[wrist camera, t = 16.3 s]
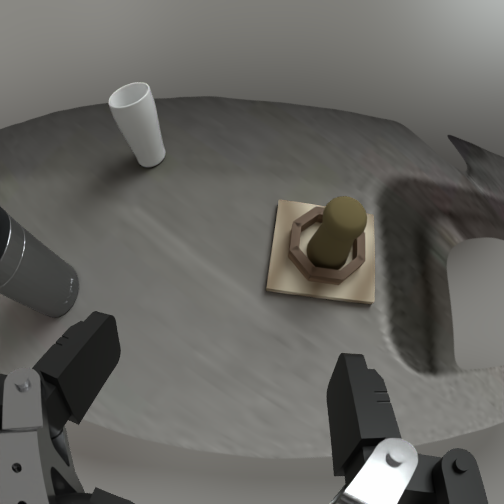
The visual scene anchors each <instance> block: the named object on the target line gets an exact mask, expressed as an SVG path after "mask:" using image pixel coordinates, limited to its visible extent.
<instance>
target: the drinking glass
mask: <svg viewBox="0 0 504 504" xmlns="http://www.w3.org/2000/svg"><path fill="white" fill-rule="evenodd" d="M108 104H109V107H110V110H111V112H112V115H113V117H114V120H115V122H116V124H117V126H118V127H119V129H120V131H121V132H122V134H123V136H124V138H125V139H126V141H127V143H128V144H129V146H130V148H131V149H132V151H133V153H134V155H135V156H136V158H137V161H138V163H139V164H140V165H141V166H143V167H153V166H156V165H158V164H159V163H160V162H161V161H162V160H163V159H164V157H165V148H164V145H163V141H162V136H161V131H160V126H159V121H158V116H157V110H156V106H155V102H154V98H153V96H152V93H151V90H150V87H149V85H148V84H146V83H142V82H135V83H131V84H128V85H125V86H123V87H121V88H119V89H118V90H116V91H115V92H114V93H113V94H112V95H111V97H110V98H109V101H108Z"/></svg>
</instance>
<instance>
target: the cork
mask: <svg viewBox="0 0 504 504" xmlns="http://www.w3.org/2000/svg"><path fill="white" fill-rule="evenodd" d="M322 219H323V223H322V224H321V225H320V227H319V228H318V229H317V231H316V232H315V234H314V235H313V236H312V238H311V239H310V241H309V243H308V244H307V250H306V251H307V256H308V258H309V260H310V261H311V262H312V264H313V265H314V266H315V267H319V268H326V269H333V270H339V269H341V268H342V267H343V266H344V265H345V263H346V261H347V258H348V256H349V253H350V250H351V247H352V245H353V242H354V239H356V238H358V237H359V236H360V235H361V234H362V233H363V232H364V230H365V228H366V225H367V215H366V211H365V209H364V208H363V206H362V204H360V203H359V202H358V201H357V200H355V199H353V198H351V197H347V196H343V197H337V198H334V199H332V200H331V201H330V202H329V203H328V204H327V205H326V207H325V209H324V211H323V218H322Z"/></svg>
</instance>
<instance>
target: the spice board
mask: <svg viewBox="0 0 504 504" xmlns="http://www.w3.org/2000/svg"><path fill="white" fill-rule="evenodd" d="M325 207H326V206H319V205H313V204H306V203H300V202H293V201H286V200H279V203H278V210H277V218H276V225H275V232H274V239H273V246H272V253H271V260H270V267H269V274H268V280H267V287H266V291H271V292H278V293H285V294H292V295H299V296H307V297H314V298H322V299H330V300H338V301H346V302H354V303H363V304H372V303H374V294H375V243H374V217H373V215H372V214H366V215H367V225H366V228H365V230H364V232H363V233H362V234H361V235H360V236H359V237H358V238H356V239H354V242H353V245H352V247H351V250H350V253H349V256H348V258H347V261H346V263H345V265H344V266H343V267H342V268H341V269H339V270H333V269H326V268H319V267H315V266H314V265H313V264H312V262H311V261H310V260H309V258H308V256H307V251H306V250H307V244H308V243H309V241H310V239H311V238H312V236H313V235H314V234H315V232H316V231H317V229H318V228H319V227H320V225H321V224H322V223H323V219H322V218H323V211H324V209H325Z"/></svg>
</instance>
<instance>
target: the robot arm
mask: <svg viewBox="0 0 504 504" xmlns="http://www.w3.org/2000/svg"><path fill="white" fill-rule="evenodd" d="M78 285H79V283H78V277H77V274H76V272H75V270H74V269H73V268H72V267H71V266H70V265H69V264H68V263H66V262H65V261H64V260H62V259H61V258H60V257H59V256H58V255H56V254H55V253H54V252H52V251H51V250H50V249H49V248H47V247H46V246H45V245H44V244H43V243H41V242H40V241H39V240H38V239H36V238H35V237H34V236H33V235H32V234H30V233H29V232H28V231H27V230H26V229H25V228H23V227H22V226H21V225H20V224H19V223H18V222H16V221H15V220H14V219H13V218H12V217H11V216H10V215H9V214H8V213H7V212H6V211H5V210H3V209H2V208H1V207H0V294H2V295H4V296H6V297H8V298H10V299H12V300H14V301H17V302H19V303H21V304H23V305H25V306H27V307H29V308H31V309H33V310H36V311H38V312H40V313H42V314H45V315H47V316H50V317H59V316H61V315H63V314H65V313H66V312H67V311H68V310H69V309H70V308H71V307H72V305H73V304H74V302H75V300H76V297H77V293H78ZM120 352H121V349H120V343H119V337H118V332H117V326H116V320H115V318H114V316H112V315H108V314H104V313H100V312H97V311H95V312H93V313H92V314H91V315H90V316H89V317H88V318H87V319H86V320H85V321H84V322H83V321H80V322H78V323H77V324H75V325H73V326H71V327H70V328H69V329H68V330H67V331H66V332H65V333H64V334H63V335H62V337H60V338H59V339H58V340H57V341H56V344H54V345H53V346H52V347H51V348H50V349H49V350H48V351H47V352H46V353H45V354H44V355H43V357H42V358H41V359H40V360H39V361H38V362H37V363H36V364H35V366H34V367H33V368H32V369H31V368H27V367H22V368H18V369H15V370H13V371H12V372H11V373H9V374H8V375H4V374H0V504H134V503H133V502H131V501H129V500H126V499H123V498H121V497H118V496H116V495H113V494H111V493H108V492H106V491H103V490H101V489H99V488H95V490H94V492H93V494H90V493H85V492H84V489H83V487H82V485H81V483H80V481H79V479H78V477H77V475H76V472H75V469H74V465H73V461H72V456H71V452H70V448H69V442H68V437H67V431H66V428H65V426H64V425H65V424H66V422H67V421H68V420H69V421H72V422H74V423H76V424H78V425H79V424H80V422H81V420H82V419H83V417H84V415H85V414H86V412H87V411H88V409H89V407H90V406H91V404H92V403H93V401H94V399H95V398H96V396H97V395H98V393H99V391H100V390H101V388H102V387H103V385H104V384H105V382H106V380H107V379H108V377H109V376H110V374H111V373H112V371H113V370H114V368H115V366H116V365H117V363H118V361H119V358H120ZM327 407H328V416H329V426H330V436H331V446H332V457H333V470H334V476H345V483H346V484H345V485H344V486H343V487H342V489H341V490H340V491H339V492H338V494H337V495H336V496H335V497H334V499H333V500H332V501H331V502H330V503H329V504H488V501H487V497H486V493H485V489H484V486H483V482H482V479H481V475H480V472H479V468H478V465H477V462H476V460H475V458H474V457H473V455H472V454H471V453H470V452H468V451H467V450H464V449H459V448H457V449H452V450H450V451H448V452H447V453H446V454H445V455H444V456H443V457H442V458H440V457H434V456H427V455H421V454H418V453H417V452H416V450H415V448H414V447H413V446H412V445H411V444H410V443H409V442H407V441H406V440H403V439H402V438H401V435H400V432H399V428H398V425H397V421H396V418H395V415H394V411H393V408H392V405H391V403H390V398H389V395H388V393H387V389H386V386H385V383H384V380H383V379H382V377H381V376H380V375H379V374H378V373H377V371H376V370H375V369H368V368H367V365H366V362H365V359H364V356H363V355H362V354H349V353H341V354H340V356H339V358H338V361H337V363H336V366H335V369H334V371H333V374H332V377H331V379H330V382H329V385H328V389H327Z"/></svg>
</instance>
